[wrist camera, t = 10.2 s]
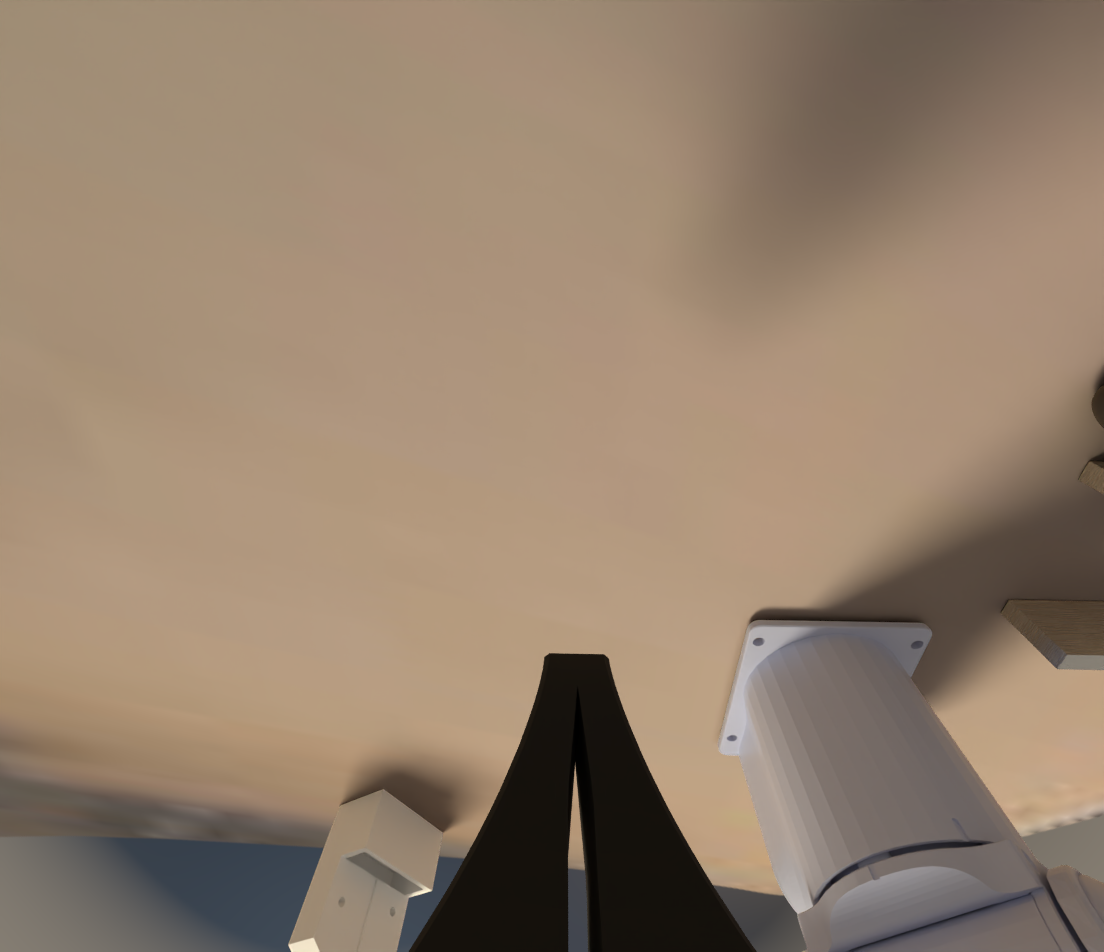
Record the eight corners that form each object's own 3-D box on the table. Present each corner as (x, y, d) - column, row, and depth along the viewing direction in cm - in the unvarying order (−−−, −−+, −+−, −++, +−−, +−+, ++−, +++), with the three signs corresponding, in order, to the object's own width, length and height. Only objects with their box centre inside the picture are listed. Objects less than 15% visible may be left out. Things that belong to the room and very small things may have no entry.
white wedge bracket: (433, 918, 34) (342, 1073, 26) (369, 776, 35) (261, 881, 26) (477, 906, 33) (398, 1064, 24) (410, 760, 34) (311, 864, 25)
